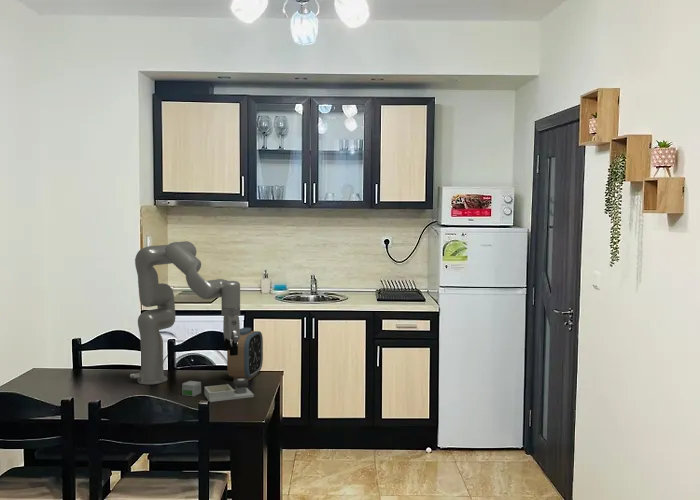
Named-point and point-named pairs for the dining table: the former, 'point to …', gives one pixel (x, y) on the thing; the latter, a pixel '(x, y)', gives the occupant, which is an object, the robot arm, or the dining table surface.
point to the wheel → (240, 382)
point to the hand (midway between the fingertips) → (230, 352)
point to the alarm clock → (246, 355)
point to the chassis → (226, 393)
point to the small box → (191, 388)
